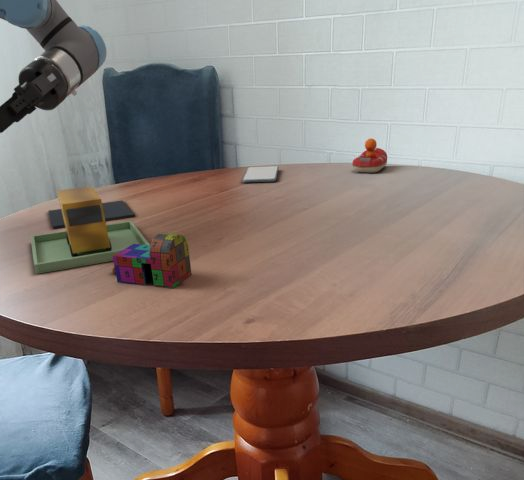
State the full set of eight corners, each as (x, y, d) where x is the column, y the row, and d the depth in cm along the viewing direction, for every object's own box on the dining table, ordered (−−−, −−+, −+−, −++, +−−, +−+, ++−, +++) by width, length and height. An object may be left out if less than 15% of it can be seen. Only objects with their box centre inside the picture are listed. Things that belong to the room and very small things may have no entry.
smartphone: (242, 179, 133) (247, 166, 146) (242, 183, 134) (248, 170, 146) (275, 178, 132) (278, 165, 145) (275, 182, 133) (278, 169, 146)
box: (36, 274, 84) (33, 264, 83) (32, 244, 98) (30, 235, 97) (151, 254, 89) (150, 245, 89) (132, 228, 103) (131, 220, 103)
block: (199, 268, 82) (194, 224, 79) (172, 288, 76) (166, 241, 72) (132, 261, 86) (125, 219, 83) (102, 280, 80) (93, 235, 77)
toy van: (72, 260, 88) (59, 204, 83) (66, 241, 97) (54, 190, 93) (113, 253, 90) (103, 198, 85) (104, 235, 99) (94, 185, 95)
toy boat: (389, 165, 144) (391, 135, 140) (378, 174, 135) (380, 142, 131) (361, 164, 147) (363, 135, 143) (349, 173, 138) (350, 141, 134)
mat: (53, 228, 106) (52, 226, 106) (48, 212, 117) (48, 210, 117) (134, 216, 111) (133, 214, 111) (122, 202, 122) (122, 200, 122)
